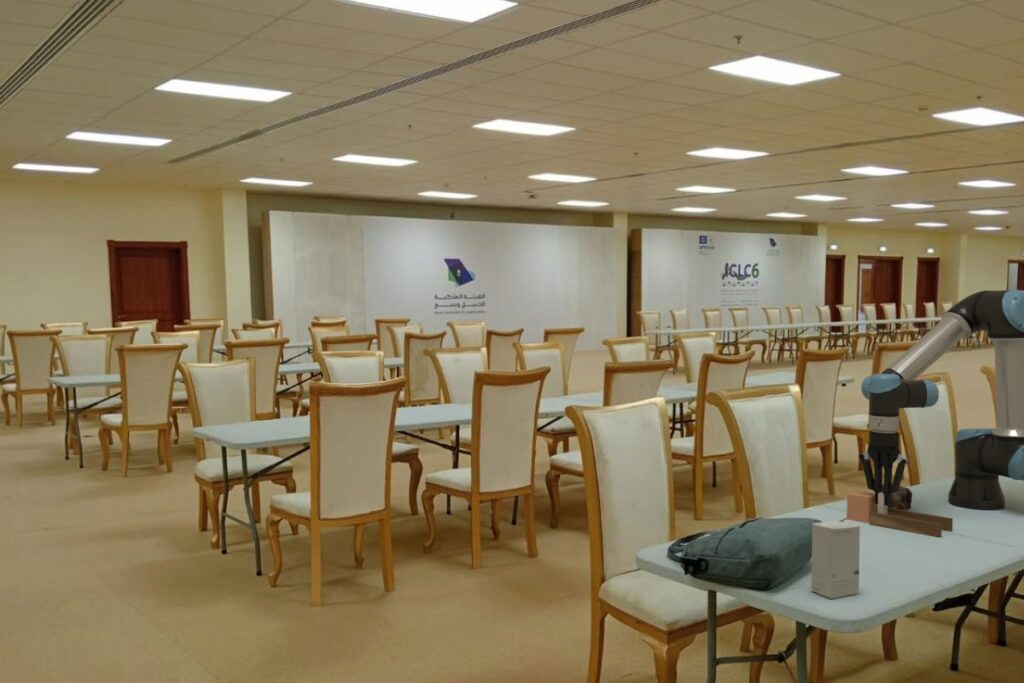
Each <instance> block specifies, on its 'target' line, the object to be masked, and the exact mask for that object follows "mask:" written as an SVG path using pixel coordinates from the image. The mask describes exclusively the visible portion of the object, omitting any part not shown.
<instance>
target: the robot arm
mask: <svg viewBox="0 0 1024 683" xmlns="http://www.w3.org/2000/svg"><path fill="white" fill-rule="evenodd" d="M980 331H982V332H983V331H987V337H988V339H989V341H990V342H991V343H993V344H994V366H995V367H994V368H995V392H996V395H995V397H996V420H997V421H996V422H997V426H995V428H993V427H992V428H988V427H985V428H963V429H959V430H958V431H957V432H956V435H955V436H956V437H955V442H954V446H955V449H954V450H955V451H954V452H955V453H954V455H955V457H954V463H955V464H954V466H955V467H954V470H955V471H954V478H953V482H952V484H951V487H950V489H949V492H948V495H947V497H948V498H947V499H948V500H947V502H948V503H949V502H950V503H949V504H950V505H953V504H954V506H957V507H962V508H967V509H973V510H986V511H987V510H991V511H992V510H1001V509H1004V508H1005V506H1006V500H1005V499H1006V498H1005V497H1004V496H1005V495H1004V493H1003V490H1002V489H1003V488H1002V487H1001V484H1000V481H999V480H1000V479H999V478H1000V477H999V476H1001V477H1005V478H1009V479H1012V480H1015V481H1024V290H1019V289H1006V290H1005V289H1004V290H981V291H977V292H974V293H972V294H970V295H968V296H966V297H965V298H962V299H961V300H960V301H958V302H957V303H956V304H954V305H952V306H951V307H950V308H949V309H948V310H946V311H945V312H944V313H943V314H942V315H941V321H939V322H938V323H937V324H936V325H935V326H933V328H931V329H930V330H929V331H928V332H927V333H925V334H924V335H923V336H922V337H921V338H920V339H918V341H916V342H915V343H914V344H913V345H912V346H911V347H910V348H908V349H907V350H906V351H905V352H903V354H902V355H900V356H899V357H898V358H897V359H896V360H895V361H893V362H892V363H891V364H890V365H889V366H888V367H886V368H885V369H884V370H882V372H880V373H873V374H872V375H869V376H866V377H865V378H864V379H863V380H862V383H861V388H860V390H861V393H862V396H863V397H864V398H865V399H867V400H868V401H869V402H868V403H869V405H868V406H869V411H868V412H869V413H868V414H869V415H868V417H869V418H868V419H869V420H868V429H869V431H868V447H867V450H866V451H865V452H862V453H860V454H859V455H858V458H859V460H860V461H861V464H862V466H863V472H864V475H865V477H864V478H865V481H866V485H867V489H868V490H871V491H873V493H874V494H875V504H878V513H881V514H887V506H889V505H890V504H891V493H894V492H897V491H898V490H899V486H901V483H902V479H903V474H904V471H905V468H906V466H907V465H908V464H909V462H910V460H909V458H908V457H904V456H903V455H902V454H901V451H900V449H899V446H900V433H899V432H898V431H899V430H900V409H913V408H915V409H917V408H919V409H920V408H921V409H925V408H930V407H933V406H935V405H936V404H937V403H938V400H939V397H940V394H939V393H940V391H939V388H938V386H937V385H936V383H935V382H933V381H932V380H929V379H928V380H926V379H918V380H917V378H919V376H921V375H922V374H923V373H924V372H926V370H928V368H929V367H931V366H933V364H934V363H935V362H937V361H938V360H939V359H940V358H941V357H942V356H943V355H945V354H946V353H947V352H948V351H949V350H950V349H951V348H953V347H955V345H957V343H959V342H960V341H961V340H966V339H969V338H970V337H971V336H972V335H974V333H977V332H980ZM929 369H930V368H929ZM870 459H871V460H872V461H873V467H872V463H871V460H870ZM895 462H897V466H896V468H895V473H894V476H893V468H894V463H895ZM873 468H874V471H873ZM882 485H884V492H881V491H883V489H882Z"/></svg>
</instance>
